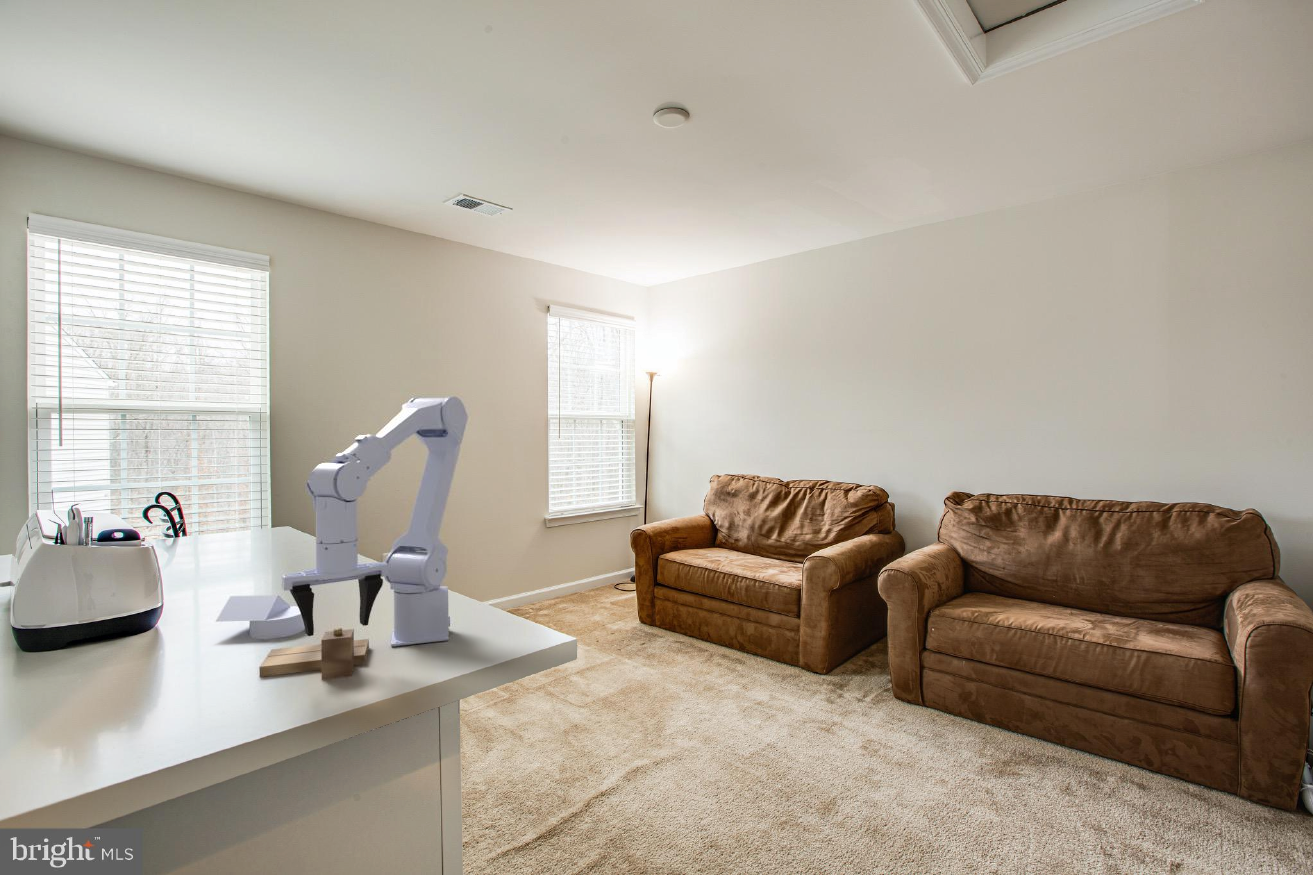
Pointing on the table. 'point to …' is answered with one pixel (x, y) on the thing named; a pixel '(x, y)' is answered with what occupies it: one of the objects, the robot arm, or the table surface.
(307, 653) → the board
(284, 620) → the wedge on round base
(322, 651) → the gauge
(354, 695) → the table surface
